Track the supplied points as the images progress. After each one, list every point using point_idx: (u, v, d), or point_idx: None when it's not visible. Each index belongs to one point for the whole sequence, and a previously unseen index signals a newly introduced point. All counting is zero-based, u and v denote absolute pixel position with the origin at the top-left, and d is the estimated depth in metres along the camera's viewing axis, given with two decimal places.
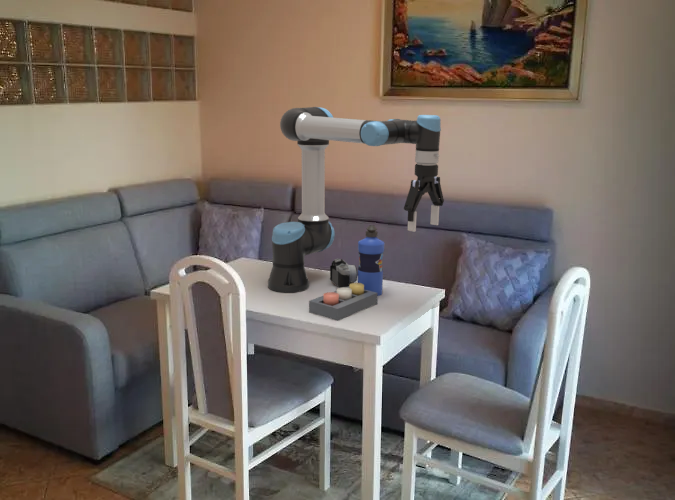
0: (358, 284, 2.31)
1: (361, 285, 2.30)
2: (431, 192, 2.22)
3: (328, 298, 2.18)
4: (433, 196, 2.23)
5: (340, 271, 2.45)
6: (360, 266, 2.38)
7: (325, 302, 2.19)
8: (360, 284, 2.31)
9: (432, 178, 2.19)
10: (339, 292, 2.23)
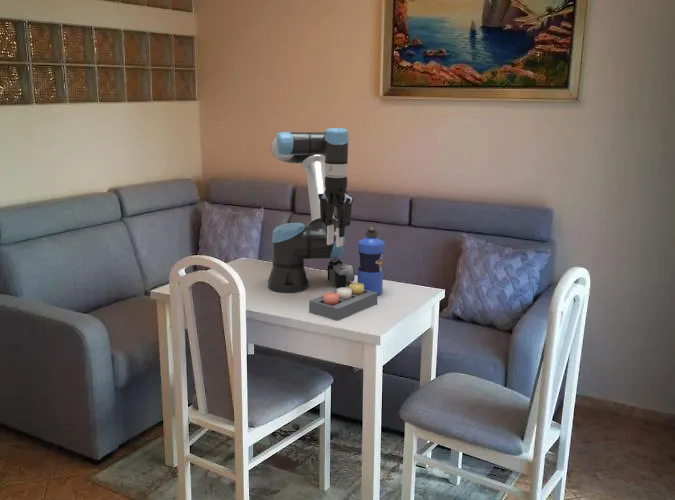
0: (358, 284, 2.31)
1: (361, 285, 2.30)
2: None
3: (328, 298, 2.18)
4: None
5: (337, 271, 2.45)
6: (360, 266, 2.38)
7: (325, 302, 2.19)
8: (360, 284, 2.31)
9: (340, 191, 2.19)
10: (339, 292, 2.23)
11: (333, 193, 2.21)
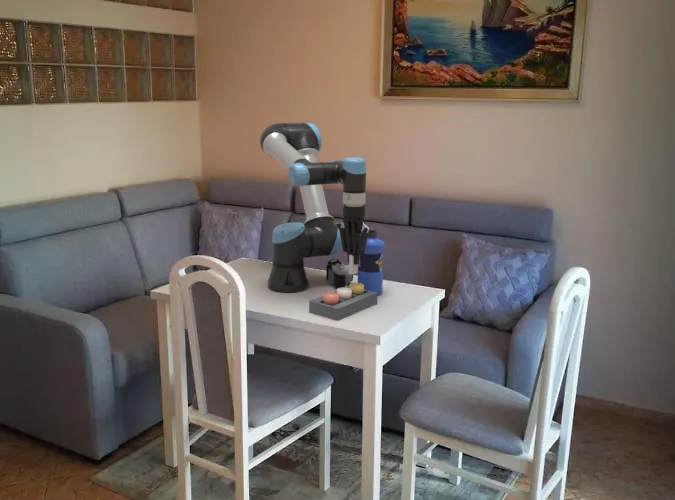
0: (358, 284, 2.31)
1: (361, 285, 2.30)
2: None
3: (328, 298, 2.18)
4: None
5: (336, 271, 2.45)
6: (360, 266, 2.38)
7: (325, 302, 2.19)
8: (360, 284, 2.31)
9: (358, 219, 2.21)
10: (339, 292, 2.23)
11: (351, 222, 2.24)
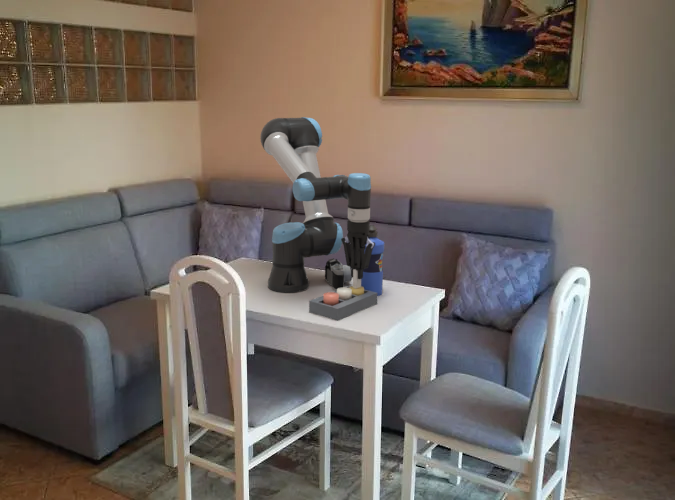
0: None
1: (361, 288, 2.30)
2: None
3: (328, 298, 2.18)
4: None
5: (334, 271, 2.45)
6: None
7: (325, 302, 2.19)
8: (360, 287, 2.31)
9: (363, 235, 2.23)
10: (339, 292, 2.23)
11: (356, 237, 2.25)
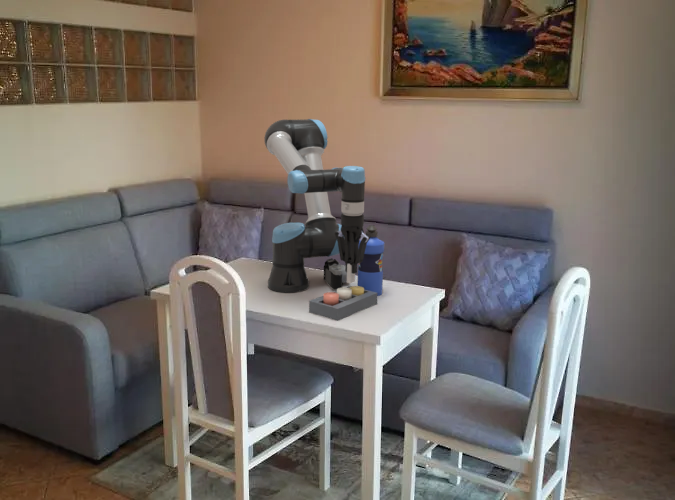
0: (358, 287, 2.31)
1: (361, 288, 2.30)
2: None
3: (328, 298, 2.18)
4: None
5: (332, 271, 2.45)
6: (360, 266, 2.38)
7: (325, 302, 2.19)
8: (360, 287, 2.31)
9: (357, 229, 2.20)
10: (339, 292, 2.23)
11: (350, 230, 2.22)
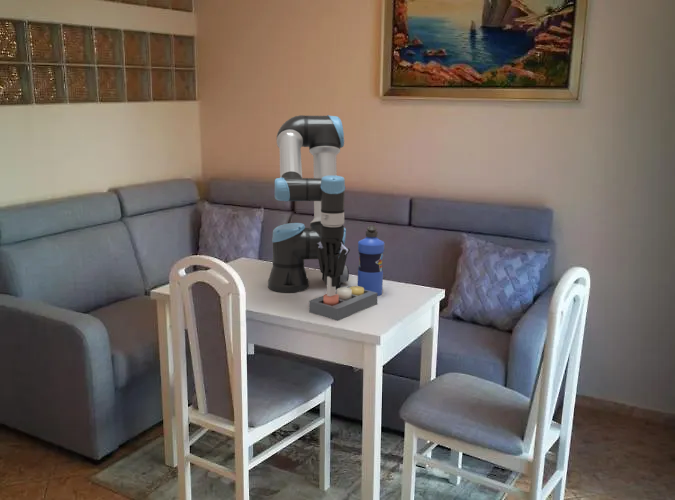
0: (358, 287, 2.31)
1: (361, 288, 2.30)
2: None
3: (328, 300, 2.18)
4: None
5: None
6: (360, 266, 2.38)
7: (325, 303, 2.19)
8: (360, 287, 2.31)
9: (337, 240, 2.12)
10: (339, 292, 2.23)
11: (329, 242, 2.14)
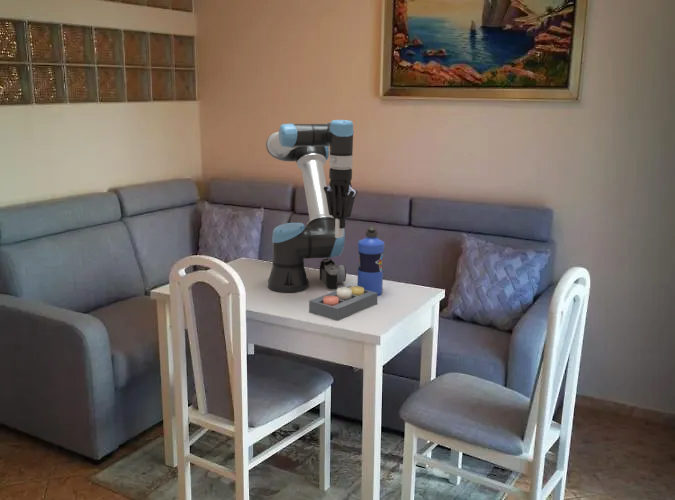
0: (358, 287, 2.31)
1: (361, 288, 2.30)
2: None
3: (328, 302, 2.18)
4: None
5: (328, 271, 2.45)
6: (360, 266, 2.38)
7: None
8: (360, 287, 2.31)
9: (345, 183, 2.20)
10: (339, 292, 2.23)
11: (338, 185, 2.22)
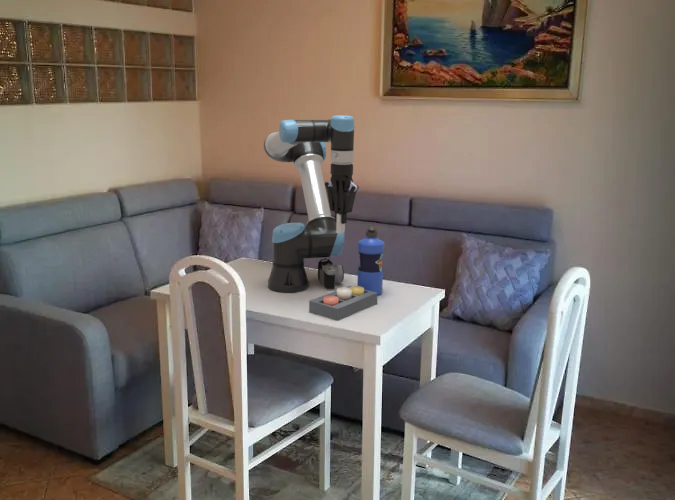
0: (358, 287, 2.31)
1: (361, 288, 2.30)
2: None
3: (328, 302, 2.18)
4: None
5: (326, 271, 2.45)
6: (360, 266, 2.38)
7: None
8: (360, 287, 2.31)
9: (346, 178, 2.21)
10: (339, 292, 2.23)
11: (339, 180, 2.23)
